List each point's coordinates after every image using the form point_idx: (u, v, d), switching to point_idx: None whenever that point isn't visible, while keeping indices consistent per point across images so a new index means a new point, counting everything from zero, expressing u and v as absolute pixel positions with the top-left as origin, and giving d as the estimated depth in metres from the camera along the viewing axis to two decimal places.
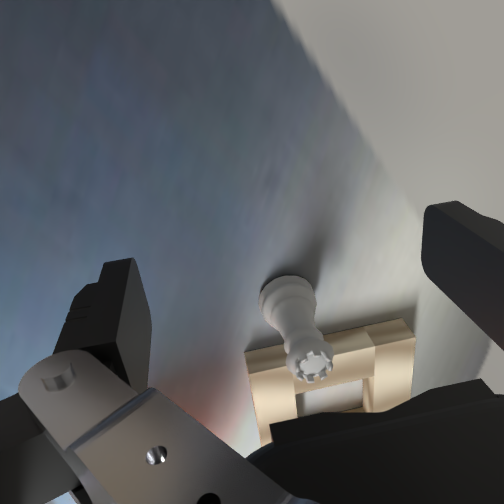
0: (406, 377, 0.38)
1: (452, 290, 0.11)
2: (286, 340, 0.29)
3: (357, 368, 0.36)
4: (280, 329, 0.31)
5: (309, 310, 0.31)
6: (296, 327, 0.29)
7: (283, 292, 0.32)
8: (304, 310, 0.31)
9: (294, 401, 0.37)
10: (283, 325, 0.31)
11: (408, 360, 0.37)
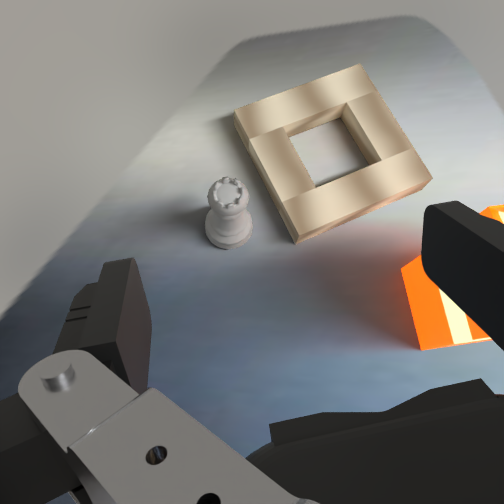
0: (279, 98, 0.43)
1: (452, 290, 0.11)
2: (227, 219, 0.35)
3: (276, 144, 0.41)
4: (232, 225, 0.37)
5: None
6: None
7: (211, 232, 0.39)
8: (213, 211, 0.38)
9: (325, 185, 0.40)
10: (226, 224, 0.37)
11: (259, 105, 0.42)
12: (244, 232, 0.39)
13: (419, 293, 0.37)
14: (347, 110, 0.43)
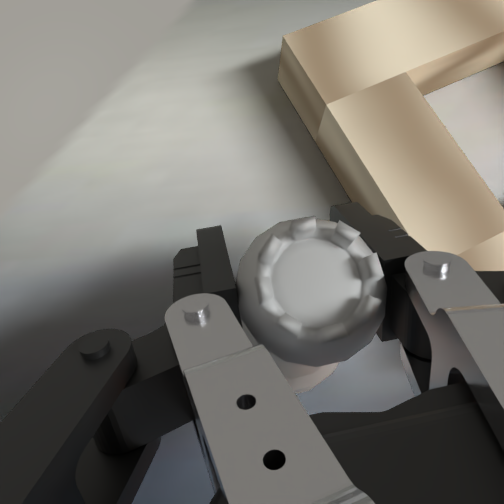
0: (389, 7, 0.18)
1: None
2: None
3: (396, 115, 0.16)
4: None
5: None
6: None
7: None
8: None
9: None
10: None
11: (344, 23, 0.17)
12: None
13: None
14: None
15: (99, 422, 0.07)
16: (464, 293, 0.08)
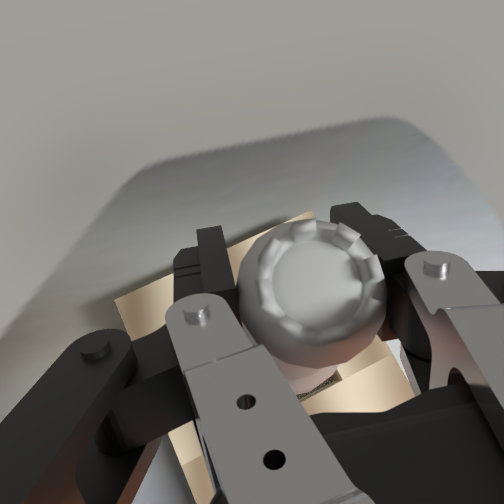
0: None
1: None
2: None
3: None
4: None
5: None
6: None
7: None
8: None
9: None
10: None
11: (154, 289, 0.28)
12: None
13: None
14: None
15: (99, 422, 0.07)
16: (465, 293, 0.08)
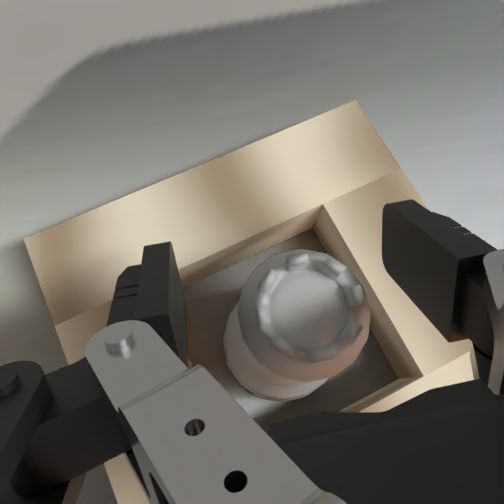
0: (147, 201, 0.16)
1: (407, 285, 0.12)
2: None
3: None
4: None
5: None
6: None
7: (242, 370, 0.15)
8: None
9: None
10: None
11: (94, 221, 0.16)
12: None
13: None
14: (327, 222, 0.17)
15: (18, 460, 0.06)
16: None
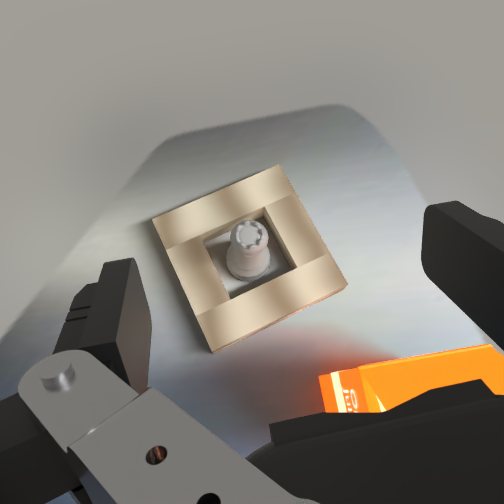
0: (197, 205, 0.43)
1: (452, 290, 0.11)
2: (248, 257, 0.38)
3: (193, 254, 0.41)
4: (253, 261, 0.40)
5: None
6: (238, 253, 0.39)
7: (233, 266, 0.42)
8: (234, 248, 0.41)
9: (239, 296, 0.40)
10: (247, 261, 0.40)
11: (177, 213, 0.43)
12: (263, 266, 0.42)
13: (330, 409, 0.38)
14: (266, 213, 0.44)
15: None
16: None
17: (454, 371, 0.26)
